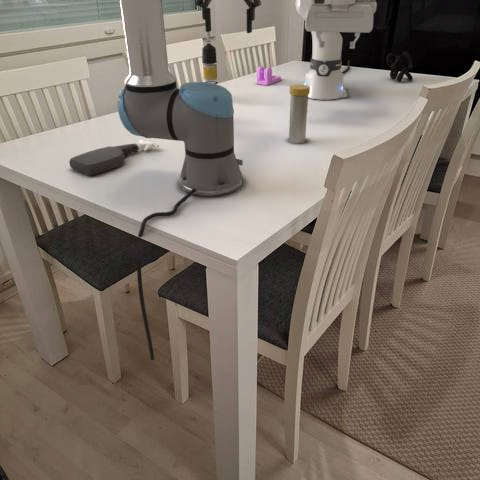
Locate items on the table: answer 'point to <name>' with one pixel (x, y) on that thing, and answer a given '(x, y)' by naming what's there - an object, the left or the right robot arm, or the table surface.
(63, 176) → the table surface
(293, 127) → the jar
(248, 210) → the table surface
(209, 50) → the black and yellow bottle
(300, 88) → the lid
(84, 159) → the spray bottle
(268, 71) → the bracket
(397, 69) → the squiggle
